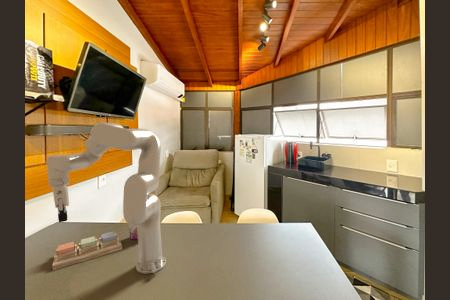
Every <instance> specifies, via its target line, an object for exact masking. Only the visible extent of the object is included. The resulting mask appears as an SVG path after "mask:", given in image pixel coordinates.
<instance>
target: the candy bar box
mask: <svg viewBox="0 0 450 300" xmlns="http://www.w3.org/2000/svg"><path fill="white" fill-rule="evenodd" d="M128 229H129V239H130V240H138V235H137V226H132V225H129V224H128Z"/></svg>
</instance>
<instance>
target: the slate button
mask: <svg viewBox="0 0 450 300" xmlns="http://www.w3.org/2000/svg"><path fill="white" fill-rule="evenodd" d="M115 234H116V233H115V230H114V231H109V232H106V233H102V234H101V237H102V242H103V243H105V242H108V241H112V240H115V239H116V235H115Z"/></svg>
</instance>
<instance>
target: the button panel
mask: <svg viewBox="0 0 450 300" xmlns="http://www.w3.org/2000/svg"><path fill="white" fill-rule="evenodd" d="M115 235H116V239H115V240H112V241H108V242H105V243H103V242H102V236H101V237H99V238H95V240H96V245H94V246H90V247H87V248H83V249H82V248H81V242H79V243H78V245H77V244H75V243H74V251H72V252H69V253H65V254H61V255H58V248H56V249H55V252H54V255H53V259H52V260H53V261H52V271H56V270H59V269H62V268H65V267H69V266H72V265H76V264H79V263H83V262H87V261H88V260H89V261H90V260H92V259H96V258H99V257H101V256H105V255H106V256H107V255H108V254H112V253H115V252H119V251H121V250H123V244H122V242H121V240H120V237H119V235H118V234H117V233H115Z"/></svg>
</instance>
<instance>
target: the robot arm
mask: <svg viewBox="0 0 450 300" xmlns="http://www.w3.org/2000/svg"><path fill="white" fill-rule="evenodd" d="M89 133H90V134H89V135H90V137H89V138H87V139H86V141H85V147H86V149H85V150H83V151H82V152H79V153H72V154H53V155H49V156H47V157H46V169H47V177H48V186H49V187H50V188H51V187H52V193H53V194H52V195H53V201H54V207H55V208H56V209H57V218H58V219H57V220H58V223H62V222H63V223H64V222H67V221H68V211H67V207H68V206H69V205H70V199H69V189H68V185H69V184H70V177H69V174H70V173H69V172H74V171H77V170H83V169H87V168H89V167H90V166H92V165H93V164H95V163H97V162H98V161H99V160H100V159H101V158H102V156H103V154H105V152H107V151H109V150H110V149H111V148H113V149H116V150H121V151H127V152H128V151H134V150H139V149H140V150H141V151H140V154H139V158H138V168H137V173H134V174H132V175H129V177H128V178H127V179H126V180H125V183H124V185H123V196H122V197H123V200H122V207H123V208H122V215H123V218H124V220H125V222H126V223H127V225H128V226H129V225H132V226H137V235H138V239H137V244H138V245H137V246H138V258H139V260H138V262H137V263H136V265H135V270H136V271H137V272H138V273H140V274H143V275H144V274H145V275H147V274H148V275H149V274H154V273H157V272H159V271H161V270H162V269H163V268H164V267H165V266H166V264H167V258H166V257H165V256H163V250H162V234H161V213H162V212H161V211H162V202H161V200H160V198H159V197H158V196H157V195H156V194H153V193H152V192H155V190H157V189H158V187H159V184H160V168H161V167H160V163H161V161H160V159H161V142H160V139H159V138H158V136H157V134H155V133H154V132H153V131H151V130H148V129H145V128H125V127H124V126H122V125H121V124H119V123H115V122H99V123H96V124H95V125H93V126H92V127H91V129H90V132H89Z"/></svg>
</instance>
